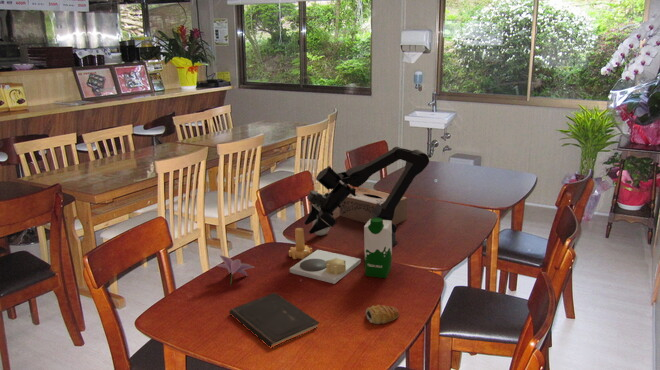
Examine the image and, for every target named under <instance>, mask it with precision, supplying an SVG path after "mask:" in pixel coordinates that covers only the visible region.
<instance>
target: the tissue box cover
mask: <svg viewBox="0 0 660 370" xmlns="http://www.w3.org/2000/svg"><path fill="white" fill-rule="evenodd" d="M355 189H356V190H355V194H356V196H355V197H354V196H353V195H352V194H351V193H350V194H349V195H348V196H347V198H346V199H345V200H344V201H343V202H342V203H341V204H340V205H341V207H340V208H339V207H338V208H339V216H340V217H343V218H346V219H350V220H354V221H357V222H361V223H364V224H366V223H367V222H368V221H369V220H370V219H372V214H373V212H372V211H373V210H374V209H375V207H376V205H377V203H379V204H380V205H381V204H382V203H384V202H385V201H386V199H387V197H388V196H389V194H390V193H388V192H384V191H379V190H375V189H371V188H366V187H362V186H359V187H355ZM407 219H408V197H406V196H403V197H402V199H401V200H400V202H399V203H398V205H397V207H396V208H395V212H394V218H393V220H392V222H393V223H394V224H395V225H396V226H397V225H398V224H400V223H402V222H404V221H406V220H407Z"/></svg>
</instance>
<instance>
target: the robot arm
mask: <svg viewBox="0 0 660 370" xmlns="http://www.w3.org/2000/svg"><path fill="white" fill-rule="evenodd" d="M399 160H401V161H405V164H404V165H405V166H404V170H403V172H402V173H401V175H400V177H399V178H398V180H397V181H396V183H395V184H394V187H393V188H392V189H391V191H390V193H389V196H388V197H387V199H386V201H385V202H384V203H382V204H381V205H380V204H379V203H377V205H376V207H375V209H374V210H373V211H372V212H373V214H372V218H381V219H383V220H390V221H392V220H393V218H394V212H395V208H396V207H397V205H398V203H399V202H400V200H401V199H402V197H404V196H405V194H406V192H407V191H408V189H409V187H410V186H411V184H412V183H413V182H414V180H415V178H416V176H418V175H419V174H421V173H422V172H423V171H425V169H426V168H427V166H429V163H430V158H429V155H428V154H426V153H425V152H424V151H422V150H420V149H414V150H412V149H407V148H403V147H400V146H394V147H393V148H392V149H390V150H389V151H387V152H385V153H383V154H381V155H380V156H378V157H376V158H373V159H372V160H371V161H369V162H367V163H365V164H360V165H356V166H353V167H351V168H348V169H347V170H345V171H342V172H336V171H335V170H334V169H333V168H332V166H330V165H328V166H327V167H326V168H323V169H322V170H320V171H319V173H318V174H317V175H316V178H315V180H316V181H317V183H319V184H321V185H322V186H323V188H325V189H326V190H327V191H328V190H330V192H329V193H328V192H326V193H324V194H322V193H321V192H316V191H314V190H309V193H308V196H307V198H306V199H307V200H308V202H310V211H309V213H308V215H307V217H306V219H305V221H304V225H306V226H308V225H309V224H311V223H313V221H314V220H316V219H317V221H316V222H315V223H314V225H313V224H312V226H311V227H310V229H309V231H308V233H309V234H310V235H312V234H316V233H315V232H317V231H319V230H322V229H325V228H328V227H330V228H333V227H334V226H335V225H336V223H337V221H336V218H335V217H334V214H335V213H334V212H335V211H336V209H337V208H340V207H341V205H340V204H341V203H342V202H343V201H344V200H345V199H346V198H347V196H348V195H349V194H350V193H351V194H352V195H353V196H354V197H355V196H356V194H355V190H356V188H358V187H362V185H364V183H366V182H367V181H368V180H369V179H370V177H371V176H372V175H374V174H376V173H377V172H380V171H382V170H383V169H385V168H387V167H388V166H390V165H392V164H394V163H395V162H397V161H399ZM397 230H398V226H397V224H396V225H395V224H394V223H393V222H392V248H393V247H394V246H395V245H396V244H398V241H397V240H396V239H397V238H396V233H397Z"/></svg>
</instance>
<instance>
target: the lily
mask: <svg viewBox="0 0 660 370" xmlns="http://www.w3.org/2000/svg"><path fill="white" fill-rule="evenodd" d="M219 257H220V259H221V260H222V261H223V262H224V263H220V264H217V265H216V267H219V268H224V269H227V271H228V273H229V274H230V273H231V274H230V285H231V284H232V285H233V283H232V282H233V274H235V273H239V274H241V275H244V276H246V277H248V273H247V271H246V270H248V269H254V268H255V266H253V265H252V264H248V263H242V261H241V260H240V259H238V258H237V259H232V258H230V257H227V256H224V255H221V254H220V255H219Z"/></svg>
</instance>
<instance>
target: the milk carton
mask: <svg viewBox="0 0 660 370" xmlns="http://www.w3.org/2000/svg"><path fill="white" fill-rule="evenodd" d="M363 230H364V231H363V234H364V237H363V240H364V241H363V243H364V244H363V245H364V247H363V248H364V267H365V277H373V278H381V279H387V278H388V276H389V273H390V271H391V268H392V261H393V259H392V257H393V247H392V221H390V220H383V219H381V218H372V219H370V220H369V221H368V222H367V223H365V225H364V226H363Z"/></svg>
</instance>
